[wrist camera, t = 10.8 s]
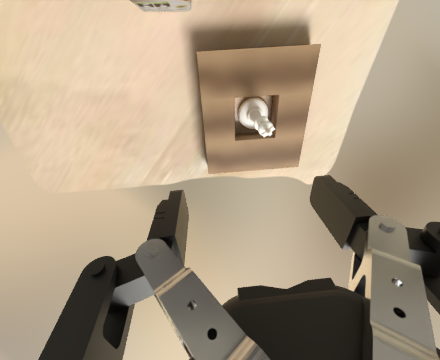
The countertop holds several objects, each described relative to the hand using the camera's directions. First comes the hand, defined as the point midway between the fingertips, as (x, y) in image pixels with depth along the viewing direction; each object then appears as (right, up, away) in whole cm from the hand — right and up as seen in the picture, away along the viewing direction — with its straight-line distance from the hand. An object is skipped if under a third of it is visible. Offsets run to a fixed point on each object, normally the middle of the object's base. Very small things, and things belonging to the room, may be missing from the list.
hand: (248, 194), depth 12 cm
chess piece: (+4, +12, +20) cm, 24 cm away
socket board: (+4, +12, +20) cm, 24 cm away
